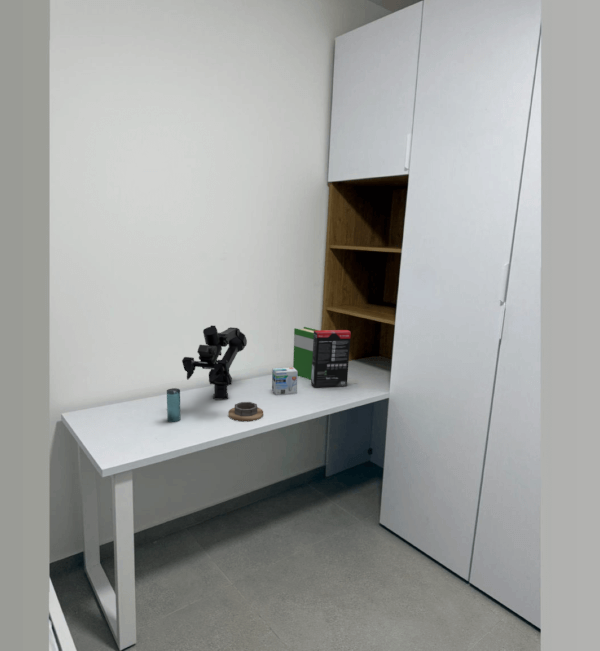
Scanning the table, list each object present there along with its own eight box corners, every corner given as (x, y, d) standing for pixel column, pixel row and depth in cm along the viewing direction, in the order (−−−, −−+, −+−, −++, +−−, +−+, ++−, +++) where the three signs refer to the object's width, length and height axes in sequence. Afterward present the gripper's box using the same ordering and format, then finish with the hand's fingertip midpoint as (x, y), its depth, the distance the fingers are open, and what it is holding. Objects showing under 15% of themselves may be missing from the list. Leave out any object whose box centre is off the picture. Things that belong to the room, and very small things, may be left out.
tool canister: (168, 417, 197) (167, 388, 195) (181, 417, 198) (180, 388, 195) (166, 422, 192) (166, 392, 190) (180, 422, 193) (179, 392, 191)
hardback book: (293, 373, 260) (294, 328, 255) (303, 371, 265) (304, 326, 260) (316, 382, 247) (318, 334, 243) (327, 379, 252) (329, 332, 248)
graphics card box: (343, 382, 248) (346, 328, 243) (348, 386, 242) (351, 331, 236) (310, 384, 244) (312, 329, 238) (314, 388, 237) (316, 332, 232)
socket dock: (228, 409, 208) (228, 400, 207) (261, 408, 210) (261, 399, 209) (228, 422, 194) (228, 412, 194) (264, 420, 197) (264, 411, 196)
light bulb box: (275, 395, 227) (275, 372, 224) (271, 390, 233) (271, 368, 231) (297, 393, 230) (298, 370, 228) (293, 388, 236) (293, 366, 234)
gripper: (186, 337, 205) (171, 362, 193) (230, 340, 201) (217, 366, 189) (192, 358, 211) (177, 383, 199) (234, 361, 208) (222, 387, 195)
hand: (198, 379), depth 196 cm, fingers open, 9 cm apart
